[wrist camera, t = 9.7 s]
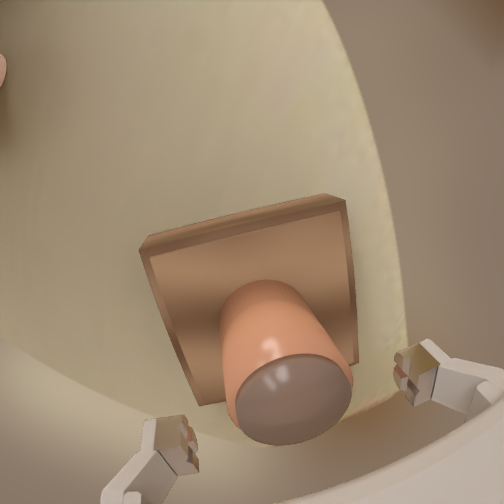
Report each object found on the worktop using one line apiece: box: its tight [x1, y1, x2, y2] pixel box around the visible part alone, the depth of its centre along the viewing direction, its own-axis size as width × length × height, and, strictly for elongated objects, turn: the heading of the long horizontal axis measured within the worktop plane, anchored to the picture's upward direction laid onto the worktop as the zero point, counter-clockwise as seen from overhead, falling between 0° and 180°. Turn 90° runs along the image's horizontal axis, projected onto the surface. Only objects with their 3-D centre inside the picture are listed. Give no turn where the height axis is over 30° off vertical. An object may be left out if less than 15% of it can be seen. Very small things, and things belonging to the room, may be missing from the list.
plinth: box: [139, 194, 359, 406], centre depth 19 cm, size 11×11×3 cm
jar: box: [218, 279, 353, 445], centre depth 14 cm, size 5×5×7 cm
